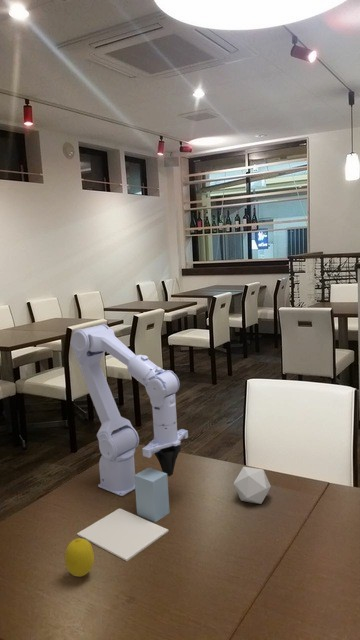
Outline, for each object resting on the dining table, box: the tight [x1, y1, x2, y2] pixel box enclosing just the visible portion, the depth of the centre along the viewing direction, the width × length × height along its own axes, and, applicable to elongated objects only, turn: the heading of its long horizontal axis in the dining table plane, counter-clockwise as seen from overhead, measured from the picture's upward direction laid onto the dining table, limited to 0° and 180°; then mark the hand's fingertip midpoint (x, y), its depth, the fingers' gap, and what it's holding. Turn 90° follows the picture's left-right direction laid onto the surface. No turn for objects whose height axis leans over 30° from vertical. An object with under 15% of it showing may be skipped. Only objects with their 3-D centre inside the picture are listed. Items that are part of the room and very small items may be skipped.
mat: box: [76, 507, 170, 562], centre depth 110 cm, size 16×13×1 cm
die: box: [233, 466, 272, 505], centre depth 121 cm, size 8×9×10 cm
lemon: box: [64, 537, 95, 578], centre depth 96 cm, size 6×6×8 cm
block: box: [134, 467, 171, 523], centre depth 117 cm, size 6×5×10 cm
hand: (168, 474), depth 121 cm, fingers closed
